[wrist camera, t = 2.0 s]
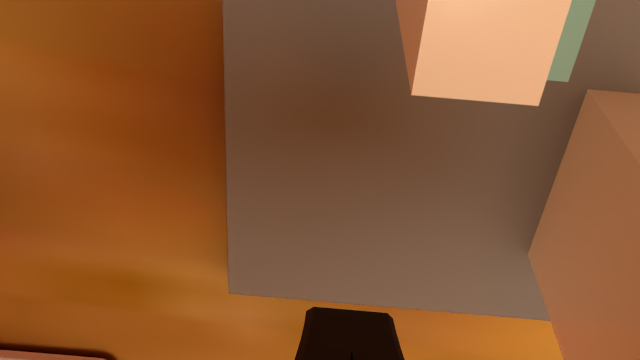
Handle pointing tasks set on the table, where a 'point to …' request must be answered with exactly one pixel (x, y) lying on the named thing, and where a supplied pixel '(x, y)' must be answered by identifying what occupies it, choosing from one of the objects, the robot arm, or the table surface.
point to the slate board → (390, 161)
